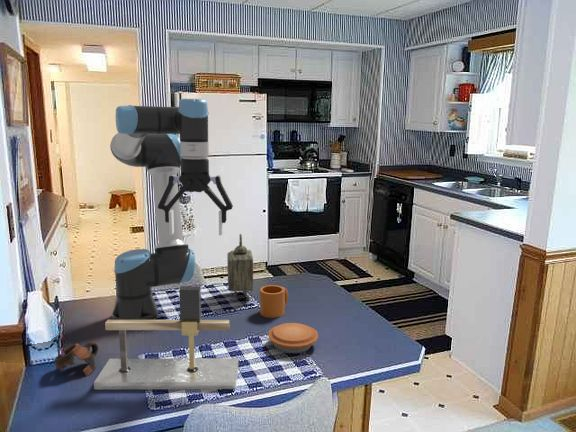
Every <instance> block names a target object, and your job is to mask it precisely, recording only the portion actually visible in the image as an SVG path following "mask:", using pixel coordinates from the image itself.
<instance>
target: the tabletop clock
mask: <svg viewBox="0 0 576 432" xmlns="http://www.w3.org/2000/svg"><path fill="white" fill-rule="evenodd" d="M238 243H239V245H237V246H235V248H234V249H233V250H230V251H229V252H227V256H226V257H227V285H228V286H227V287H228V290H230V291H232V292H233V293H232V296H233V297H237V296H238V293H237V292H243V294H244V295H245V301H247V302H249V301H250V300H251V297H250V296H248V293H247V292H250V291H253V290H254V257H253V254H252V250H251V249H247V247H246V246H245V245H243V235H242V233H239V242H238Z"/></svg>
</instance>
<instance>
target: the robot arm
mask: <svg viewBox="0 0 576 432" xmlns="http://www.w3.org/2000/svg"><path fill="white" fill-rule="evenodd" d="M208 109H209V107H208V101H207V100H205V99H202V98H201V99H200V98H181V99H180V100H179V101H178V106H149V105H148V106H147V105H131V104H128V105H118V106H117V107H116V109H115V127H116V131H117V133H116V134H115V135H114V136H113V137H112V139H111V141H110V144H109V145H110V146H109V147H110V151H111V154H112V156H114V159H116V160H117V161H118V162H120V163H123V164H124V165H127V166H130V167H133V168H134V167H136V168H146V171H147V174H149V175H150V176H151V178H152V186H153V187H152V188H153V198H154V207H155V218H156V230H157V239H158V240H157V241H158V243H157V244H156V246H155V247H154V252H151V251H150V250H149V249H147V248H142V249H140V248H138V249H131V250H127V251H125V252H122V253H120V254H118V255H117V257H116V258H115V260H114V270H113V272H114V273H115V275H114V276H115V297H116V299H115V302H114V306H113V309H112V313H111V316H112V317H111V320H157V318H158V316H159V310H158V306H157V304H156V301H155V299H154V296H153V288H155V287H163V286H171V285H179V284H183V283H188V282H190V281H191V280H192V279H193V277H194V275H195V268H196V256H195V251H194V250H193V249H191V248H189V244H188V243H187V242H186V241H185V240H184V232H183V224H182V223H183V222H182V216H181V215H182V214H181V203H180V198H181V197H182V196H183V194H184V193H185V192H186V191H187V192H188V193H194V192H195V193H202V192H204V193H205V194H206V195H207V196H208V198H210V200H212V202H213V203H214V204H215V205H216V206H217V208H218V209H219V210H218V236H223V231H224V230H223V229H224V227H223V225H224V224H226V221H227V211H230V210H233V207H234V205H233V203H232V201H231V198H229V195H228V194H227V191H226V189H225V188H224V185H223V183H222V179H221V175H215V176H214V175H213V176H211V175H210V166H209V165H210V160H209V159H208V157H209V152H210V151H209V110H208ZM178 135H179V136H178ZM179 172H180V174H179ZM178 174H179V175H178ZM178 181H179V182H180V184H181V185H182V187H181V188H180V189H179V186H178V184H179V182H178ZM211 182H213V185H216V188H217V190H218V192H219V194H220V195H221V198H222V200H223V201H224V203H225V204H224V203H223V201H222V200H221V199H220V198H219V197H218V196H217V194H216V193H215V192H214V191H213V190H212V188H211V187H210V186H209V184H210V183H211Z"/></svg>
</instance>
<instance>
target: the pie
mask: <svg viewBox="0 0 576 432" xmlns="http://www.w3.org/2000/svg"><path fill="white" fill-rule="evenodd" d="M267 335H268V339H269V340H270V341H271V342H272V344H273V345H274V347H275V348H276V349H277V350H278V351H280V352H282V353H286V354H291V353H294V354H295V355H296V354H301V353H305V352H307V351H309V349H311V347H312V346H313V344H315V343H316V342H317V340H318V338H319V332H318V331H317V330H316V329H315V328H313V327H311V326H309V325H306V324H303V323H300V322H299V323H298V322H285V323H281V324H279V325H276V326H274V327H271V329H270V330H268V333H267ZM294 354H293V355H294Z"/></svg>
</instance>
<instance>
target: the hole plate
mask: <svg viewBox="0 0 576 432" xmlns="http://www.w3.org/2000/svg"><path fill="white" fill-rule="evenodd" d="M239 364H240V363H239V357H238V358H234V357H233V358H230V357H229V358H227V357H225V358H208V357H207V358H202V357H201V358H199V357H198V358H195V368H194V369H190V366H189V357H188V358H184V357H183V358H177V357H176V358H128V370H127V371H121V358H109V359H108V361H107V362H106V364H105V365H104V366H103V368H102V369H101V371H100V373H99V374H98V376H97V377H96V379H95V380H94V382H93V389H94V390H95V391H96V390H98V391H99V390H102V391H103V390H236V387H237V379H238V372H239Z"/></svg>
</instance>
